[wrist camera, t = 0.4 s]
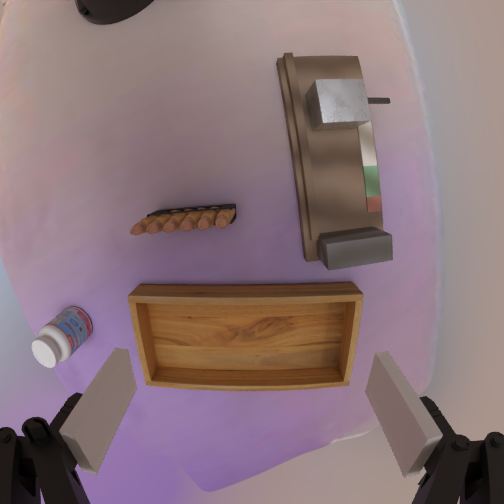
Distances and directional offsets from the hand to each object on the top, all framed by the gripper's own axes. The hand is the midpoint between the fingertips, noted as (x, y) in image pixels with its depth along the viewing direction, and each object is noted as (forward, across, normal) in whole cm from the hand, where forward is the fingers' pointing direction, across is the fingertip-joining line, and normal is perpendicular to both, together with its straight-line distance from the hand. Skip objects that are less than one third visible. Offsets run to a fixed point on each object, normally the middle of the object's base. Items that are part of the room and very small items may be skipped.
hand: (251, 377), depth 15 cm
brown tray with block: (+27, +10, +13) cm, 32 cm away
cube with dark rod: (+25, +11, +19) cm, 33 cm away
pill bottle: (+27, -29, -13) cm, 42 cm away
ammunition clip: (+27, -8, +5) cm, 29 cm away
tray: (+28, -1, -12) cm, 30 cm away
